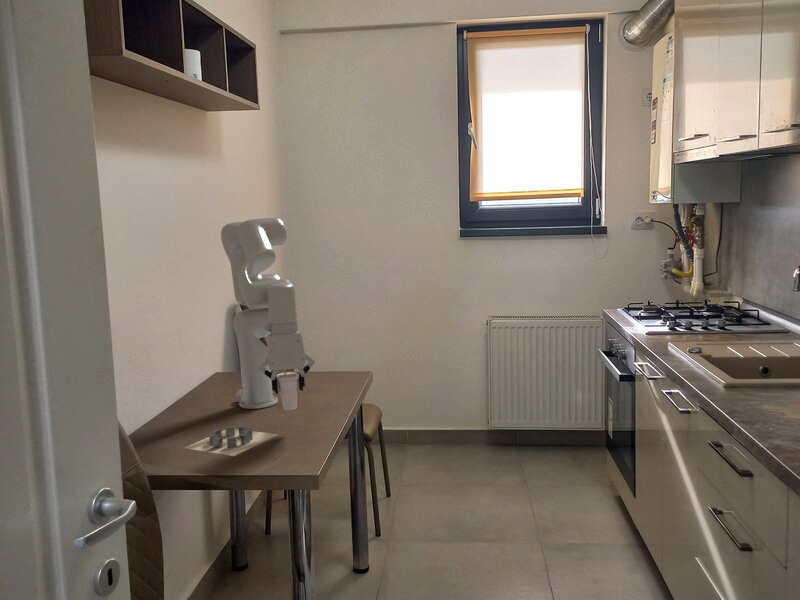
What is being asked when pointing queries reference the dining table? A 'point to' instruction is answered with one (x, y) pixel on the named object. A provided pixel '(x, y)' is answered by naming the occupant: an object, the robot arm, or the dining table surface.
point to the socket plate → (205, 446)
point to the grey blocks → (231, 442)
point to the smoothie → (288, 389)
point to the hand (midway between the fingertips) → (288, 390)
